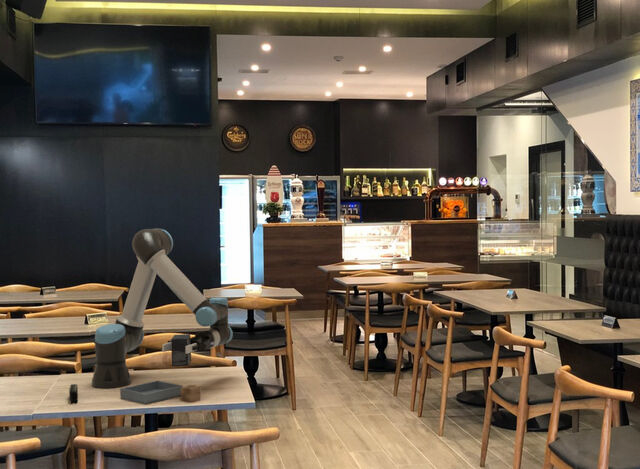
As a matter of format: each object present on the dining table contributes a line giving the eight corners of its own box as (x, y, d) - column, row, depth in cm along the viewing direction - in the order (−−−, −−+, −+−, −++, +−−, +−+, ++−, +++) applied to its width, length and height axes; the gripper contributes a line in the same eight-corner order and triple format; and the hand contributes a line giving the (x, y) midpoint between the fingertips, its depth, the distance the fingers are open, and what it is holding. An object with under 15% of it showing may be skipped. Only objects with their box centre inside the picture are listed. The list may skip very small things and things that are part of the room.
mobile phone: (78, 390, 277) (77, 381, 291) (69, 391, 276) (68, 382, 290) (78, 404, 278) (77, 394, 292) (70, 405, 277) (69, 395, 291)
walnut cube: (181, 401, 278) (180, 387, 278) (189, 398, 283) (189, 384, 282) (191, 402, 276) (191, 389, 276) (200, 399, 280) (200, 386, 280)
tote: (120, 398, 284) (120, 388, 284) (157, 389, 297) (157, 380, 297) (146, 404, 274) (146, 394, 274) (183, 395, 287) (183, 385, 287)
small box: (174, 361, 293) (173, 334, 293) (191, 360, 294) (190, 333, 294) (171, 366, 283) (170, 338, 283) (188, 366, 283) (188, 337, 283)
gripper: (231, 350, 300) (200, 361, 280) (183, 347, 309) (150, 357, 288) (230, 331, 300) (200, 340, 279) (182, 328, 309) (149, 337, 288)
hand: (174, 349), depth 284 cm, fingers closed on small box, 9 cm apart
